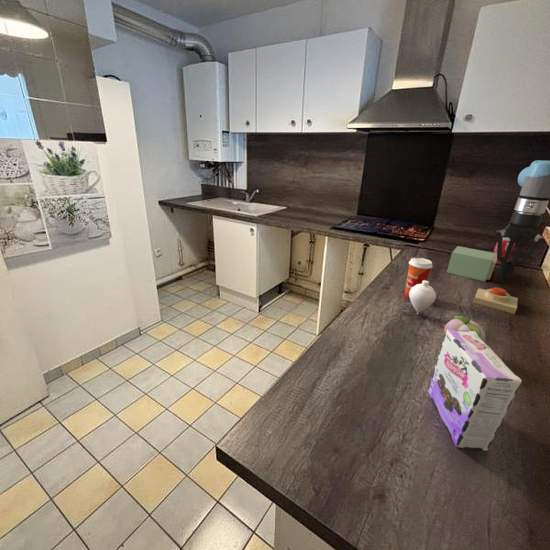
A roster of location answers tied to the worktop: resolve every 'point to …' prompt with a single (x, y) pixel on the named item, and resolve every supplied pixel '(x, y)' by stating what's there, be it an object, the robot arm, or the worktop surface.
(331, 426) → the worktop surface
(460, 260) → the cabinet
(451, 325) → the decorative fruit
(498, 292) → the button
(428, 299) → the spinning top
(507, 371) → the candy box
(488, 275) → the drawer
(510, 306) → the block
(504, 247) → the soda can
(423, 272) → the paper cup
